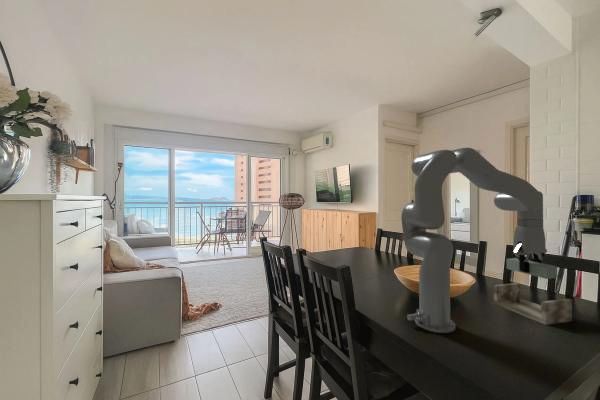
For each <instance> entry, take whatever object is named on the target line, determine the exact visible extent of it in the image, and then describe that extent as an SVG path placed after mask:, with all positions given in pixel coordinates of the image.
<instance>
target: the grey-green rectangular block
mask: <svg viewBox="0 0 600 400" xmlns="http://www.w3.org/2000/svg"><path fill="white" fill-rule="evenodd" d="M528 262H529V273H526V272H522V271H520V270H519V260H518V258H517V257H513V258H506V270H511V271H515V272H518V273H522V274H526V275H528V276H529V275H530V276H533V277H537V278H542V279H545V280H549V279H550V280H551V279H555V278H556V279H557V278H558V266H557V265H551V264H547V263H538V262H533V261H531V260H528Z"/></svg>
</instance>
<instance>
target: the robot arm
mask: <svg viewBox="0 0 600 400" xmlns="http://www.w3.org/2000/svg"><path fill="white" fill-rule="evenodd" d="M411 171H412V173H413V174H414V175H415V176H416V180H415V183H414V201H412V202H409V203H407V204H406V205H405V206H404V207H403V210H402V212H401V215H400V217H401V226H402V227H401V228H402V234H403V241H404V243H403V244H404V246H405V248H406V250H407V252H409V253H410V254H411V255H414V256H417V257H419V258H422V259H423V260H422V262H421V264H420V267H419V270H418V284H419V285H418V296H419V297H418V298H419V299H418V301H419V302H418V305H419V308H417V309H416V312H415V313H410V314H409V313H408V314H407V315H406V318H407V320H408V321H414V322H415V324H416V325H417V326H418V327H420V328H422V329H424V330H426V331H428V332H432V333H438V334H448V333H453V332H454V331H456V329H457V328H456V323H455V322H454V321H453V320H452V319H451V279H450V278H451V263H452V258H453V254H454V245H453V242H452V241H451V240H450V238H448V237H447V236H445V235H443V234H440V233H436V232H430V231H427V230H431V231H432V230H439V229H441V228H442V227H443V226H444V224H445V221H446V220H445V208H444V200H443V186H444V185H443V184H444V182H445V180H446V179H447V177H448V176H449V175H450V174H454V173H460V174H462V176H464V178H466V179H468V180H469V181H470V182H471V183H472V184H474V185H475V187H477V188H479V189H482V190H485V191H489V192H495V193H497V194H496V195H495V196H494V199H493V203H494V205H495V207H496V208H497V209H499V210H502V211H505V212H507V211H509V212H516V226H515V229H514V233H513V247H512V249H513V252H512V254H513V255H514V256H515V258H518V260H519V270H520V271H522V272H526V273H529V262H528V261H529V258H530V255H531V257H532V259H530V261H533V262H538V263H542V261H543V260H544V256H545V255H546V253H547V252H548V250H547V248H546V234H545V229H544V195H543V193H542V191H539V190H537V188H535V186H533V185H532V184H531V183H530V182H529V181H527V180H525V179H524V178H520V177H518V176H516V175H513V174H510V173H507V172H505V171H502V170H499V169H498V168H496V166H494V165H493V164H492V163H490V161H488V160H487V159H486V157H484V156H483V155H482V154H481V153H480V152H478V151H477V150H476V149H475V148H472V147H461V148H457V149H453V150H451V149H441V150H436V151H432V152H428V153H425V154H424V153H423V154H420V155H418V156H416V157H415V158H414V159H413V160H412V162H411Z"/></svg>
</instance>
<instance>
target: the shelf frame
mask: <svg viewBox="0 0 600 400" xmlns="http://www.w3.org/2000/svg"><path fill="white" fill-rule="evenodd" d="M493 304H494V305H497V306H498V307H502V308H504V309H506V310H509V311H512V312H514V313H517V314H518V315H521V316H523V317H526V318H528V319H531V320H534V321H535V322H538V323H540V324H542V325H546V326H547V325H554V324H561V323H568V322H573V299H571V298H561V299H553V300H545V301H544V300H542V301H541V302H540V304H538V303H536V302H533V301H529V300H527V299H524V298H521V283H519V282H512V283H504V284H503V283H502V284H494V285H493Z"/></svg>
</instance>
